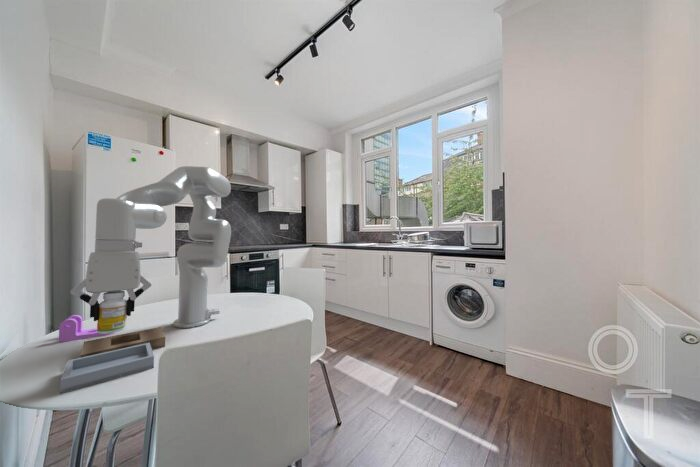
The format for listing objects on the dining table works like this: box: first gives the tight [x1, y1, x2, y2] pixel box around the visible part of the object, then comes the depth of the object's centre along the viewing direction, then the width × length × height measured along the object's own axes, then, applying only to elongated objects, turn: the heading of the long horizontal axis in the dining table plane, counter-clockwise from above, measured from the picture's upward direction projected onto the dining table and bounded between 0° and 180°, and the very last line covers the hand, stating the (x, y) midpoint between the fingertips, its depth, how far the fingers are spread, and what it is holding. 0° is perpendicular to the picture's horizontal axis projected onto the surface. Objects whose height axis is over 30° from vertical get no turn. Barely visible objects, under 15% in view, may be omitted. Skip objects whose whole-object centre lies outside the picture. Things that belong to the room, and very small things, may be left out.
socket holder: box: [79, 326, 166, 358], centre depth 74 cm, size 18×11×3 cm, turn 134°
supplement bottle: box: [96, 290, 128, 334], centre depth 63 cm, size 5×5×10 cm
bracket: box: [58, 314, 116, 343], centre depth 84 cm, size 13×6×7 cm, turn 123°
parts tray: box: [59, 343, 155, 394], centre depth 63 cm, size 16×11×3 cm
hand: (112, 316), depth 63 cm, fingers closed on supplement bottle, 5 cm apart
